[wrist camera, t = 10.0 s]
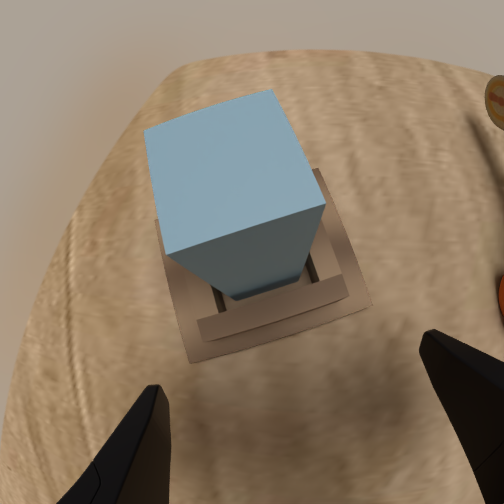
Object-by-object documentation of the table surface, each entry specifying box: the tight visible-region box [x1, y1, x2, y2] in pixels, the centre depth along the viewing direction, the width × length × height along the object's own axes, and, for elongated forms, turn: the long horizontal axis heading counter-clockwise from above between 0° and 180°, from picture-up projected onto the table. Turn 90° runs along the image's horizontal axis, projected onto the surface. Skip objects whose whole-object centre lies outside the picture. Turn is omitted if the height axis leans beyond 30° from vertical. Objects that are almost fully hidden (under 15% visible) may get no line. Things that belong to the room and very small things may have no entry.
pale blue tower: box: [144, 89, 326, 301], centre depth 13 cm, size 4×4×12 cm
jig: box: [155, 168, 372, 363], centre depth 18 cm, size 10×12×4 cm
